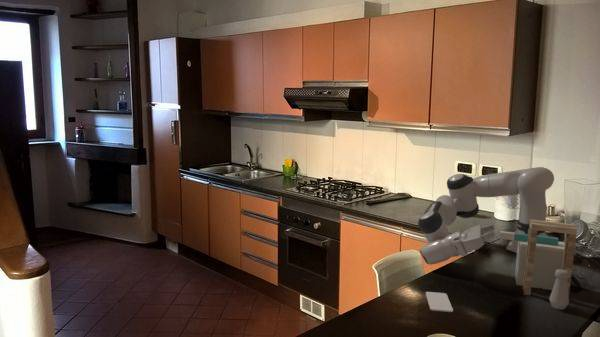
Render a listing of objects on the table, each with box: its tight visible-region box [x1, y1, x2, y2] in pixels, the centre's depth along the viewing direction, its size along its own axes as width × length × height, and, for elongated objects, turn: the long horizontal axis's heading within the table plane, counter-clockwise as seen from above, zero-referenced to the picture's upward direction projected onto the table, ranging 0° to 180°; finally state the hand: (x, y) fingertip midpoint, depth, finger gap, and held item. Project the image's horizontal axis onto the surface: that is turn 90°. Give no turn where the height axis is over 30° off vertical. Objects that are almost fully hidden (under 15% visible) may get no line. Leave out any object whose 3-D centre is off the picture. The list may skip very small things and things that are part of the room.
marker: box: [499, 230, 560, 246], centre depth 185 cm, size 2×20×2 cm, turn 70°
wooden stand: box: [522, 219, 578, 297], centre depth 174 cm, size 7×14×26 cm, turn 70°
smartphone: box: [425, 291, 454, 313], centre depth 166 cm, size 7×1×15 cm
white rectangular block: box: [514, 241, 565, 291], centre depth 184 cm, size 10×16×16 cm, turn 70°
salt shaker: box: [548, 269, 570, 311], centre depth 164 cm, size 6×6×13 cm
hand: (494, 229), depth 188 cm, fingers open, 8 cm apart
